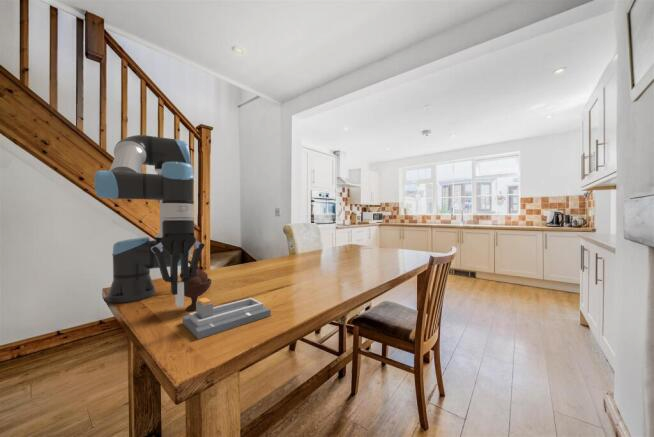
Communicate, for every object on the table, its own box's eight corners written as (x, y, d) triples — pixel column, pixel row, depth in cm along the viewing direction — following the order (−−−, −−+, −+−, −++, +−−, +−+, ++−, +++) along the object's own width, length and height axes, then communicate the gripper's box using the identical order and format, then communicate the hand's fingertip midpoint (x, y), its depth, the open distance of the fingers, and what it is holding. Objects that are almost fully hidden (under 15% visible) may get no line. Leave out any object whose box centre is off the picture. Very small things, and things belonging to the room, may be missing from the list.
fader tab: (196, 318, 75) (196, 299, 75) (206, 315, 77) (206, 296, 77) (202, 323, 72) (201, 303, 72) (213, 320, 74) (212, 300, 74)
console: (182, 323, 77) (182, 311, 77) (249, 304, 92) (249, 295, 92) (198, 339, 67) (198, 326, 67) (270, 315, 82) (270, 304, 82)
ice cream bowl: (197, 315, 82) (197, 269, 82) (168, 313, 85) (168, 268, 84) (218, 304, 93) (217, 263, 93) (191, 302, 95) (191, 262, 95)
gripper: (153, 219, 62) (154, 315, 62) (208, 219, 71) (209, 302, 72) (147, 219, 68) (148, 308, 68) (199, 219, 77) (200, 296, 77)
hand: (179, 305), depth 70 cm, fingers closed
